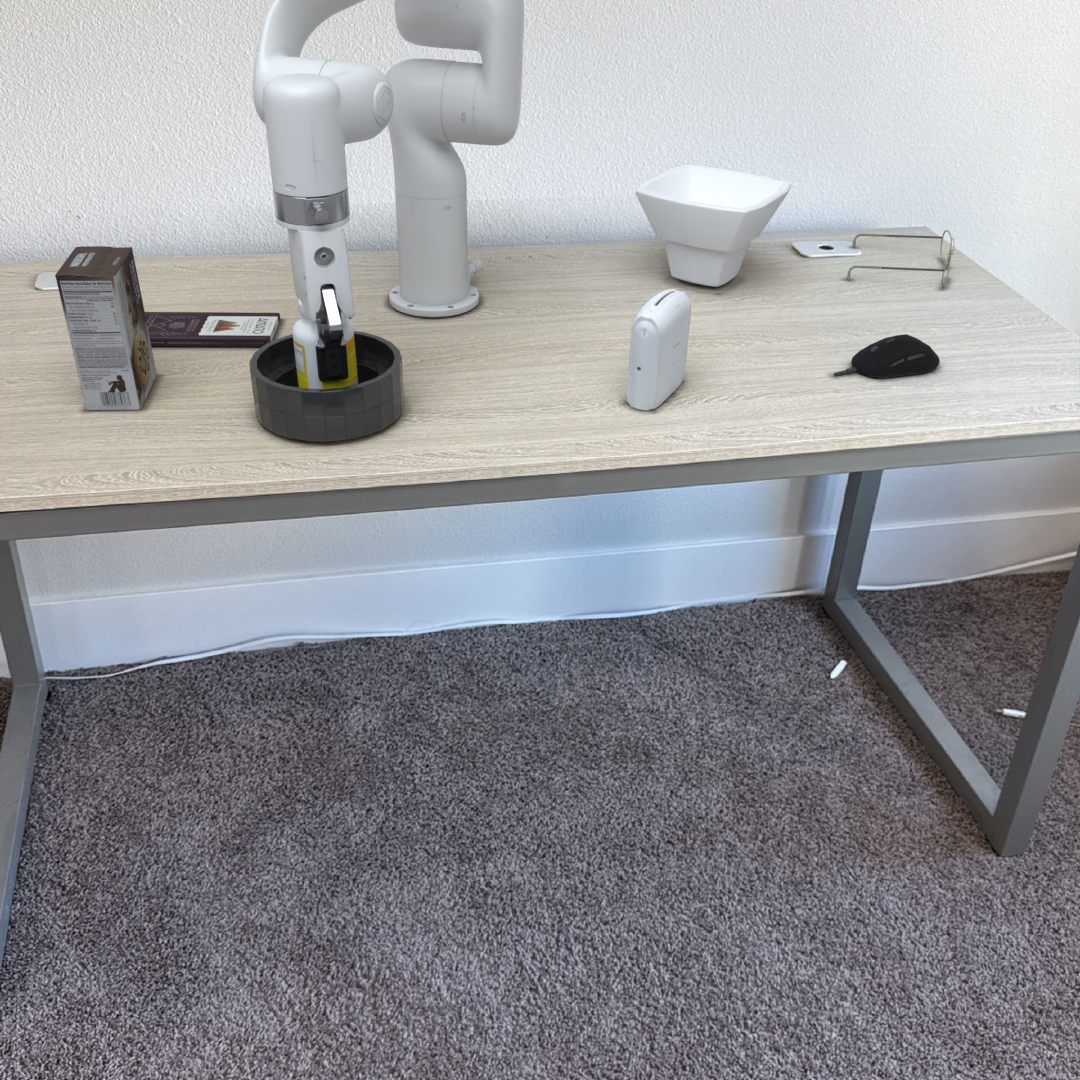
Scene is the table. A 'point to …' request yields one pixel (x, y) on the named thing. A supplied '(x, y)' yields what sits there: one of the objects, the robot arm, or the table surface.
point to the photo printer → (658, 349)
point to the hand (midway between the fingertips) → (326, 364)
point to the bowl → (709, 218)
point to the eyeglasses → (908, 268)
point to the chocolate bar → (211, 328)
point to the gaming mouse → (894, 358)
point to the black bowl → (328, 392)
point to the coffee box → (107, 327)
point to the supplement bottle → (307, 353)
